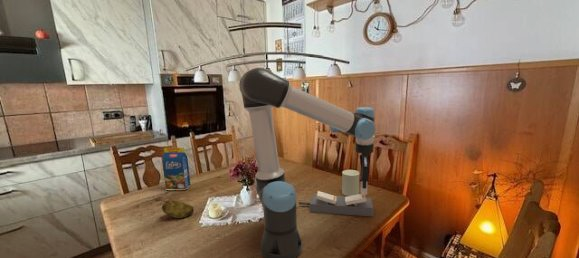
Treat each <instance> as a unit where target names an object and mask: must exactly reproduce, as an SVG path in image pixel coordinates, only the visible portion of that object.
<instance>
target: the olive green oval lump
mask: <svg viewBox="0 0 579 258" xmlns="http://www.w3.org/2000/svg"><path fill="white" fill-rule="evenodd" d="M161 210H162V212H163V213H164V215H165V214H166V215H167V216H169V217H172V218H175V219H182V218H183V217H184V218H186V217H189V216H191V215H192V214H193V213H194V211H195V209H194V206H193V205H191V204H190V203H186V202H184V201H180V200H177V199H169V200H166V201H165V202H164V203H162V206H161Z"/></svg>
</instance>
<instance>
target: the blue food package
mask: <svg viewBox="0 0 579 258" xmlns="http://www.w3.org/2000/svg"><path fill="white" fill-rule="evenodd" d="M163 151H164V152H163V155H162V169H163V176H164V177H163V178H164V185H165V190H166V189H186V188H187V187H188V186H189V185H191V178H190V177H191V176H190V167H189V161H188V159H189V158H188V156H187V154H186V152H185V147H164V148H163Z"/></svg>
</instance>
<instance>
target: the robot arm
mask: <svg viewBox="0 0 579 258" xmlns="http://www.w3.org/2000/svg"><path fill="white" fill-rule="evenodd" d="M239 90H240V94H241V97H242V103H243V108H244V110H246V111H247V112H248V113H249V114H248V115H249V119H250V120H249V121H250V128H251V132H252V133H251V134H252V139H253V144H254V145H253V146H254V152H255V156H256V164H257V172H256V173H255V175H254V176H255V182H256V193H257V195H258V197H259V200H260V203H261V206H262V209H263V210H262V211H263V223H264V224H263V225H264V227H263V229H264V231H263V233H262V237H261V241H260V253H261V255H262V257H264V258H297V257H298V256H299V255H300V254H301V253H302V250H303V241H302V237H301V234H300V232H299V230H298V224H297V221H298V220H297V193H296V189H295V187H294V186H293V185H292V184H291V183H289V182H286V176H285V170H284V169H283V168H282V167H280V161H279V155H278V154H279V153H278V146H277V139H276V133H275V126H274V119H273V118H274V117H273V111H272V108H273V107H274V108H277V109H280V108H284V109H287V110H290V111H292V112H294V113H297V114H299V115H302V116H304V117H307V118H308V119H311V120H314V121H316V122H318V123H320V124H323V125H326V126H328V128H329V130H330V131H331V133H333V134H334V133H335V134H336V133H338V134H339V133H343V134H347V135H349V136H352V137H355V152H356V153H358V154H360V155H359V165H360V174H359V176H360V178H359V182H360V194H362V195H365V196H366V195H368V182H369V167H370V161H371V160H370V155H369V154H373V152H374V150H375V148H374V147H375V144H374V141H375V138H376V135H375V133H376V125H375V109H374V108H373V107H368V106H367V107H365V106H364V107H362V106H361V107H356V109H355V112H352V111H348V110H347V109H345V108H342V107H341V106H340V107H339V106H338V105H335V104H333V103H332V102H331V103H330V102H329V101H327V100H324V99H321V98H319V97H317V96H315V95H312V94H311V93H309V92H306V91H304V90H302V89H299V88H297V87H295V86H293V85H292V84H291V82H290V80H287V79H285V78H283V77H281V76H279V75H278V74H275V73H274V72H272V71H271V70H268V69H266V68H264V67H263V68H262V67H255V68H251V69H249V70H247V71H246V72H245V73H244V74H242V76H241V78H240V80H239Z"/></svg>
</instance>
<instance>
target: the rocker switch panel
mask: <svg viewBox="0 0 579 258" xmlns="http://www.w3.org/2000/svg"><path fill="white" fill-rule="evenodd" d="M336 196H337V197H336V204H332V203H329V202H326V201H323V200H319V199H316V197H317V194H311V199H310V201H309V202H304V201H299V202H298V205H301V206H302V205H303V206H309V212H310V213H318V214H330V215H331V214H333V215H334V214H335V215H344V216H345V215H347V216H357V217H358V216H362V217H374V205H373V203H372V198H371V197H365V198H366V202H361V203H355V204H350V205H346V203H345V197H346V196H339V195H336Z"/></svg>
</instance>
